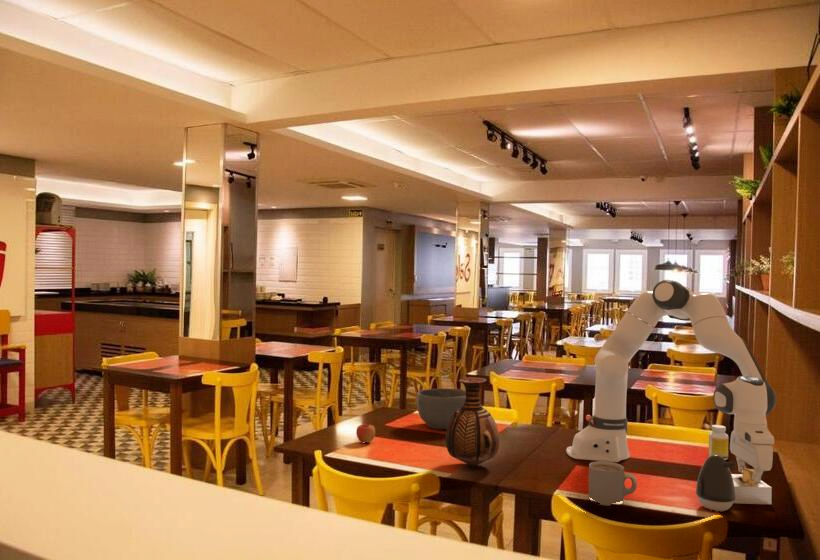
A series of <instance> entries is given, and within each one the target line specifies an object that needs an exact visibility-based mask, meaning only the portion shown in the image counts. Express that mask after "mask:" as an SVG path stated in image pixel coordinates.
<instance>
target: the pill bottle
mask: <svg viewBox="0 0 820 560" xmlns="http://www.w3.org/2000/svg"><path fill="white" fill-rule="evenodd" d="M711 430H712V431H711V432H710V433H709V434H708V457H710V456H712V455H718V456H720V457H722V458H723V459H724V460H725V461H726V460H728V459H729V435H728V434H727V433H726V431H727V428H726V426H724V425H721V424H712V425H711Z"/></svg>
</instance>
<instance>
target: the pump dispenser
mask: <svg viewBox="0 0 820 560" xmlns="http://www.w3.org/2000/svg"><path fill="white" fill-rule="evenodd" d="M736 462H737V461H726V460H724V459H723V458H722V457H720V456H718V455H712V456H710V457H709V456H708V457H707V458H706V459H705V461H704V462H703V464H702V466H701V468H700V471H699V473H698V478H697V481H696V487H695V488H696V489H695V494H696V496H697V499H698V502H699V504H700V505H701V506H702V507H704V508H705V509H707V508H708V509H707V510H709V509H711V510H710V511H712V510H715V511H714V512H719V511H720V512H725V511H727V510H730V508H731V507H732V506H733V504H734V503H733V501H734V500H735V488H734V482H733V478H732V475H731V474H732V472H731V470H730V468H731V467H734V466H737V463H736Z"/></svg>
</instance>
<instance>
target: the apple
mask: <svg viewBox="0 0 820 560" xmlns="http://www.w3.org/2000/svg"><path fill="white" fill-rule="evenodd" d="M375 435H376V428H375V426H374V425H372V424H364V422H362V424H361V425H358V426H357V427H356V437H357V439H358V440H359V442H361V443H362V442H367V443H368V442H370V441H371V442H373V440H374V438H375ZM371 442H370V443H371Z"/></svg>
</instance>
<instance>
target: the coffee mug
mask: <svg viewBox="0 0 820 560" xmlns="http://www.w3.org/2000/svg"><path fill="white" fill-rule="evenodd" d="M626 479H630V480H631V487H630V488H627V487H626V485H625V481H626ZM637 487H638V485H637V478H636V477H635V475H633V474H632V473H629V472H625V466H624V465H622V464H619V463H618V462H609V461H591V462H590V463H589V464H588V498H589V497H590V498H592V499H593V500H595V501H597V502H598V503H600V504H599V505H601V506H608V507H611V506H610V505H611V504H612V503H616V502H620V501H623V499H625V496H628V495H631V494H633V493H635V491H636V490H637Z"/></svg>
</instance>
